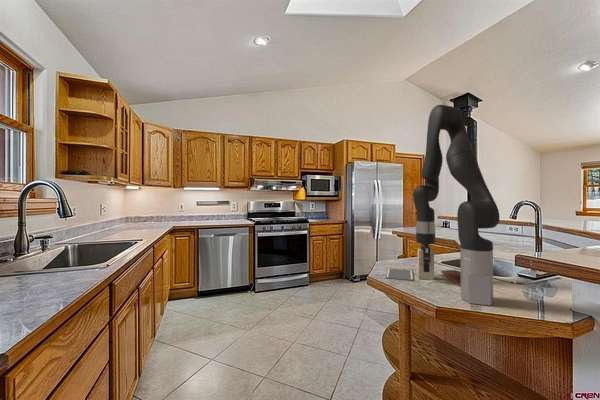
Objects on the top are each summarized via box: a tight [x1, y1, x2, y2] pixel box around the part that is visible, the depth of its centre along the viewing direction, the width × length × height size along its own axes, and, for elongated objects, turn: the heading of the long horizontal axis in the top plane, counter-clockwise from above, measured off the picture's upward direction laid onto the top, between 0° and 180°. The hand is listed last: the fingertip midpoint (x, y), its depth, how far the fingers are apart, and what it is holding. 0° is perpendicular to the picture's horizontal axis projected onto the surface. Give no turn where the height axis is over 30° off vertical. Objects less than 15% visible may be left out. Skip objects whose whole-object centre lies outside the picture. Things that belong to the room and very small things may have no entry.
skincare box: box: [416, 248, 435, 281], centre depth 118 cm, size 6×4×12 cm
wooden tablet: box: [440, 269, 461, 288], centre depth 117 cm, size 26×2×10 cm
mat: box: [385, 268, 415, 282], centre depth 123 cm, size 16×11×1 cm
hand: (425, 269), depth 118 cm, fingers open, 8 cm apart
